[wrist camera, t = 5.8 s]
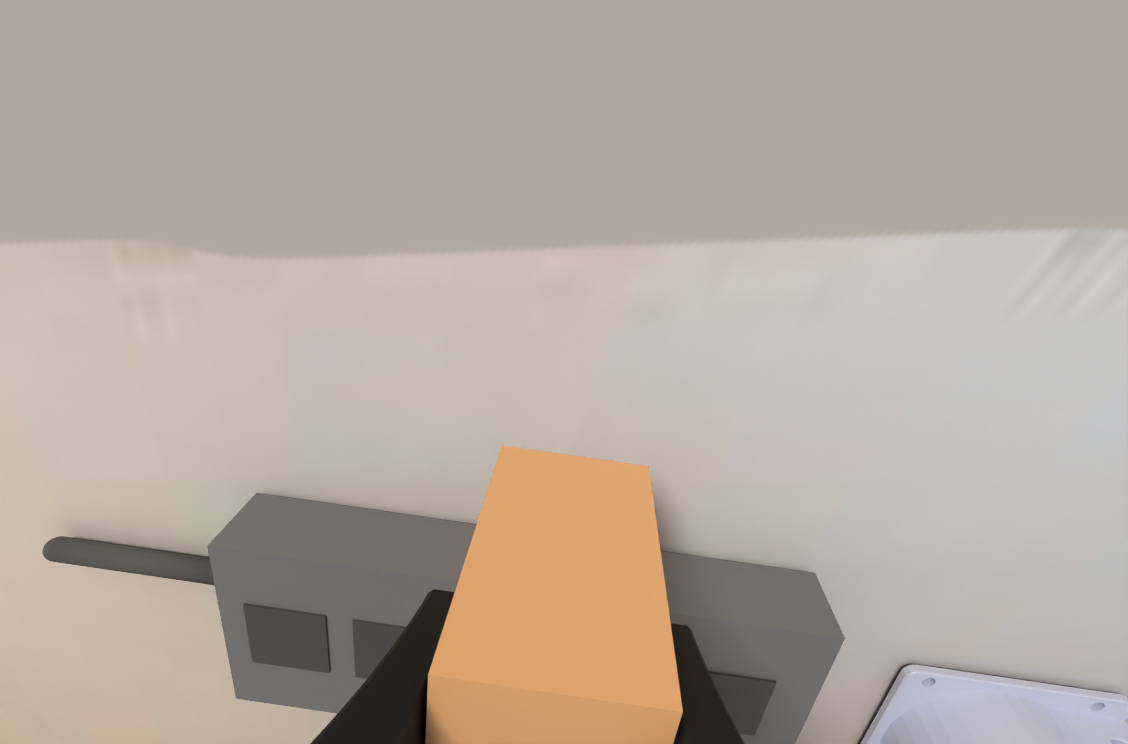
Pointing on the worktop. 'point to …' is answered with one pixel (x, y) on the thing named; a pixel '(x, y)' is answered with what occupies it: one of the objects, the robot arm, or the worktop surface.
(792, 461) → the worktop surface
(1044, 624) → the worktop surface
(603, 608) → the orange rectangular block
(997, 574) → the worktop surface
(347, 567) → the power strip
